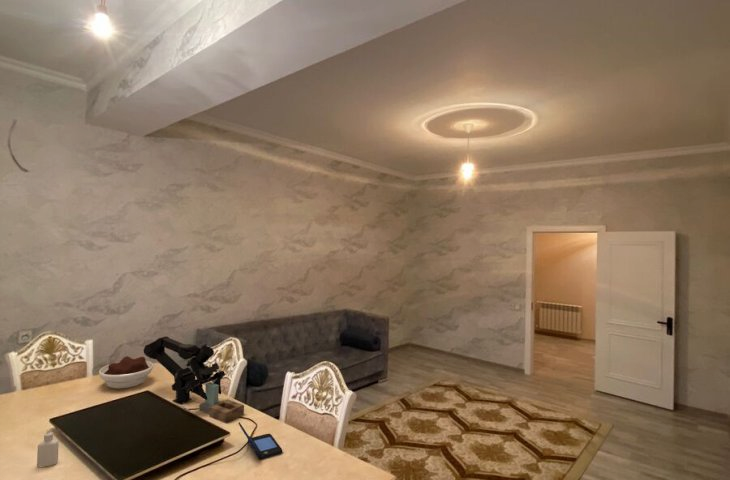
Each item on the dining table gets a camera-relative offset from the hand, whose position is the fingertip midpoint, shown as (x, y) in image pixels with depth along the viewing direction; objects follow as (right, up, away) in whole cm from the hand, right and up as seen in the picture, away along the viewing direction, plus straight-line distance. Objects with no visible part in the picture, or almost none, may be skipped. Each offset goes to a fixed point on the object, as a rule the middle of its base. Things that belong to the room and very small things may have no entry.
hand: (213, 396), depth 179 cm
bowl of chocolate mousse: (-58, -5, +27) cm, 64 cm away
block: (-1, -4, +1) cm, 4 cm away
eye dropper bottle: (-40, -5, -45) cm, 61 cm away
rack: (+8, -7, -4) cm, 11 cm away
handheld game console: (+30, -8, -31) cm, 43 cm away
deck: (-1, -7, +1) cm, 7 cm away
